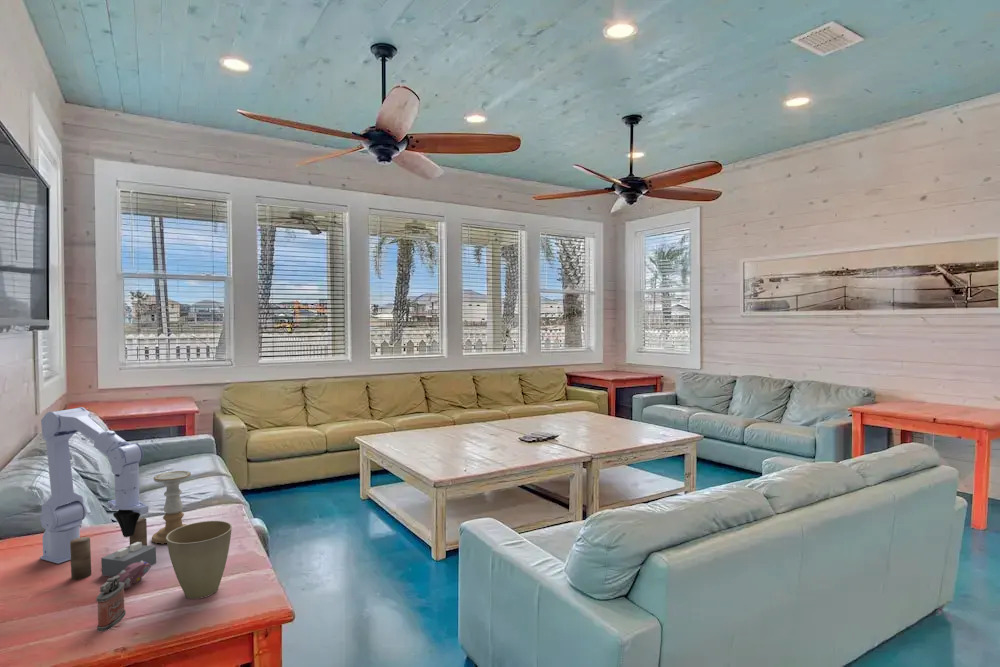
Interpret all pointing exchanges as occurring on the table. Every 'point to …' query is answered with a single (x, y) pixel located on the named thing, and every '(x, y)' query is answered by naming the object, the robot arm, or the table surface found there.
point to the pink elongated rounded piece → (133, 573)
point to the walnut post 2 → (140, 532)
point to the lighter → (110, 603)
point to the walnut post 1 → (80, 558)
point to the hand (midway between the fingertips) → (128, 535)
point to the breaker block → (127, 558)
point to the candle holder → (171, 503)
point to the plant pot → (199, 556)
